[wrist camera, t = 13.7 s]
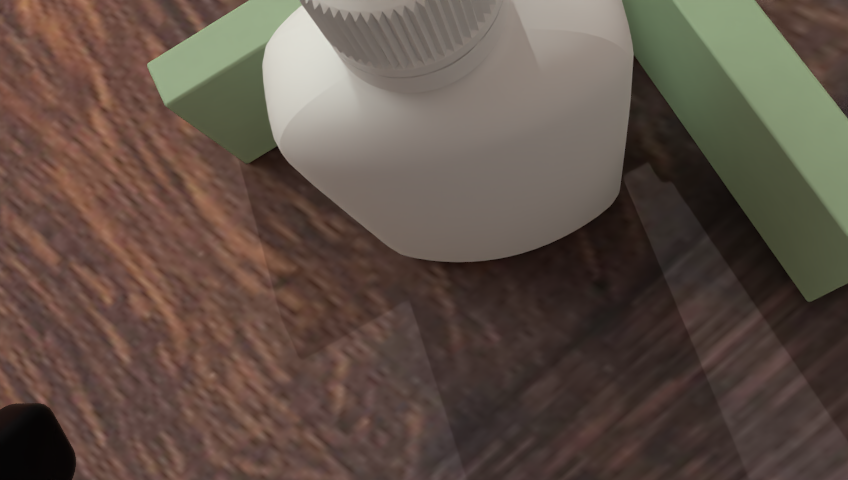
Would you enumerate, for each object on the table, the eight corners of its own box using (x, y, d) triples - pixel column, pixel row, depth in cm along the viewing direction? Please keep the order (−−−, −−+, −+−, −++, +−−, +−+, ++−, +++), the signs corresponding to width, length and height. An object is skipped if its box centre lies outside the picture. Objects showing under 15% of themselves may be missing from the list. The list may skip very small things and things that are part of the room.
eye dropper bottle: (416, 83, 19) (158, -394, 8) (637, 133, 18) (719, -367, 6) (361, 246, 19) (-4, -17, 7) (586, 310, 17) (577, 110, 6)
